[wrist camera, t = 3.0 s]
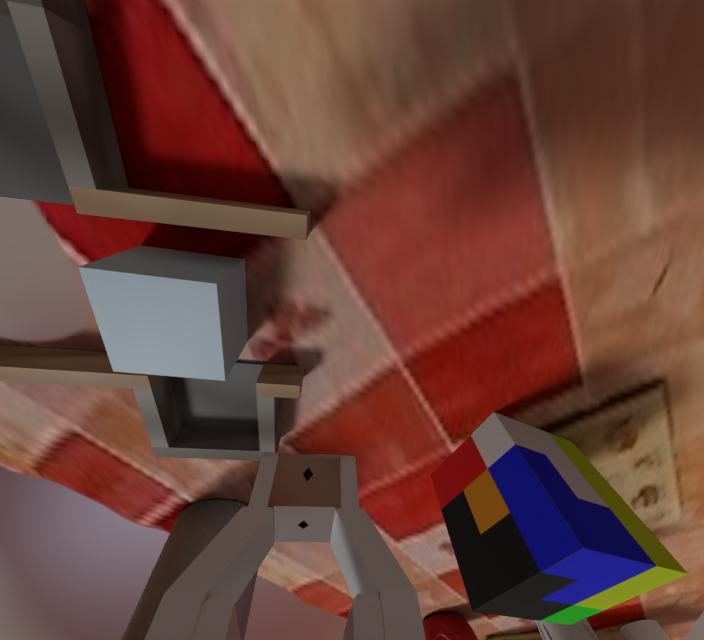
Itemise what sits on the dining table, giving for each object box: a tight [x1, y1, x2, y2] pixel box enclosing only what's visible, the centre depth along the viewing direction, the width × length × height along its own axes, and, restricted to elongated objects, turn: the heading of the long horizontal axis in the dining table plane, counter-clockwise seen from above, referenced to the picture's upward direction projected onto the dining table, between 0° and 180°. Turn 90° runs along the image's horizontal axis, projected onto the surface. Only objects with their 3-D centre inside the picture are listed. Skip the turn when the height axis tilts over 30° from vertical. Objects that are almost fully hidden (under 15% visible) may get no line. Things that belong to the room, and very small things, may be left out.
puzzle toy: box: [431, 412, 688, 625], centre depth 23 cm, size 10×10×10 cm
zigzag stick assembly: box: [0, 0, 311, 461], centre depth 15 cm, size 27×27×4 cm
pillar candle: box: [121, 499, 258, 640], centre depth 24 cm, size 10×10×15 cm
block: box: [79, 245, 248, 381], centre depth 16 cm, size 6×6×4 cm
